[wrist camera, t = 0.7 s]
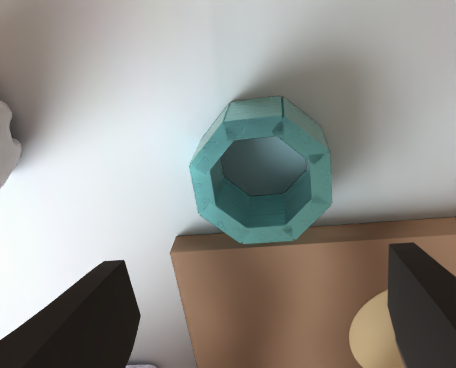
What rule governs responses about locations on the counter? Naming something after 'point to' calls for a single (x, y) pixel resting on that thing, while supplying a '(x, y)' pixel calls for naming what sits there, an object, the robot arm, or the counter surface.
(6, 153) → the bottle
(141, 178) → the counter surface
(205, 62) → the counter surface
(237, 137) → the ring
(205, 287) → the board
